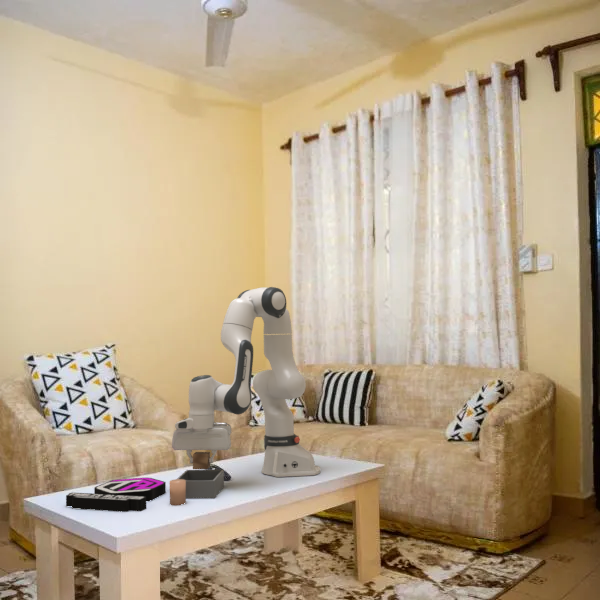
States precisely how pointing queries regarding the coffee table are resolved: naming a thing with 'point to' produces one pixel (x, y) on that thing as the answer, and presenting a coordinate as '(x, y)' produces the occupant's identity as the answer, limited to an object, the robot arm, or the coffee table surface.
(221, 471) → the box
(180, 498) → the terracotta canister
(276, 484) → the coffee table surface
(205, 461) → the walnut cube
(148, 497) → the sign
